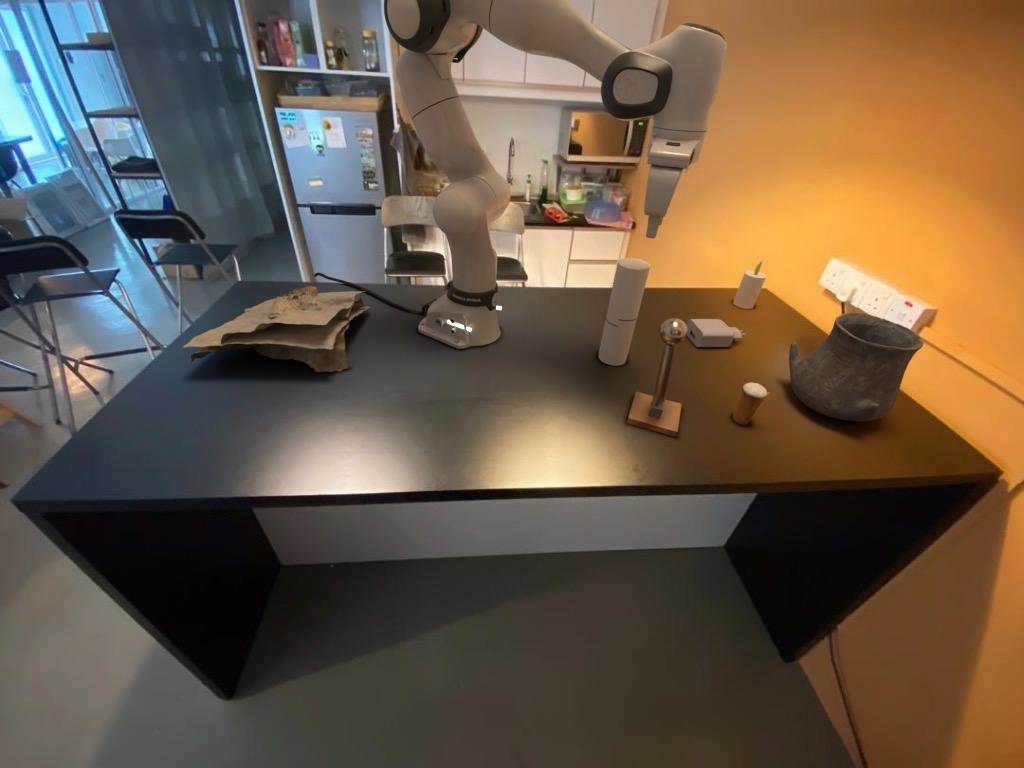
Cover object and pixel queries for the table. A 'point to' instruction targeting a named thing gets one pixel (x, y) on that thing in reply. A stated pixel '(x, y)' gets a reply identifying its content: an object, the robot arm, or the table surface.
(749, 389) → the milkshake
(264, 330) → the crumpled cardboard stack
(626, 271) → the cylindrical container
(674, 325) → the ball topped rod
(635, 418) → the holder base
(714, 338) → the charger
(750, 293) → the candle
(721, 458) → the table surface
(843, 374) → the vessel
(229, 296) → the table surface
